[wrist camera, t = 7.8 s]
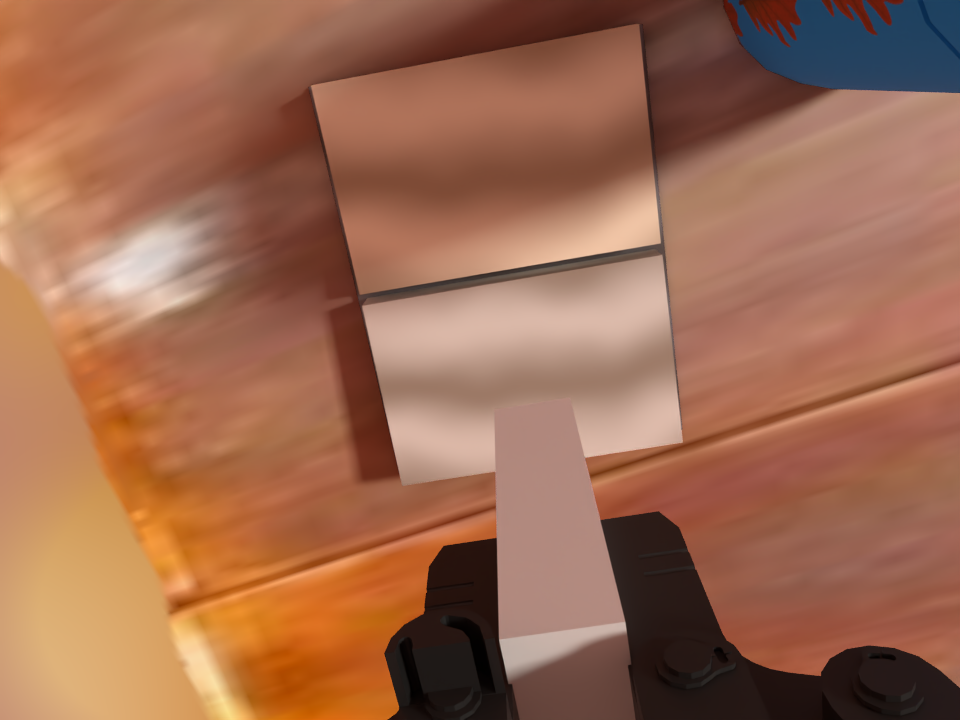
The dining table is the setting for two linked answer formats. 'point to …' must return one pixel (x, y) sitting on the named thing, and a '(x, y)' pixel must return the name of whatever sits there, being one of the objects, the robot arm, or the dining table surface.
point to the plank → (526, 361)
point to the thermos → (854, 42)
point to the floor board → (494, 163)
